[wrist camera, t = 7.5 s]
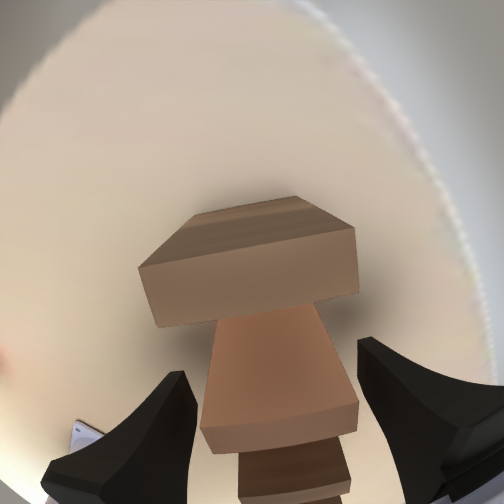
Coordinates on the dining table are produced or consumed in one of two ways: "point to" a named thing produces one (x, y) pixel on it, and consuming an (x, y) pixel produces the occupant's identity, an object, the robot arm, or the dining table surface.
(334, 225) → the end tile
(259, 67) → the dining table surface
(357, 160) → the dining table surface
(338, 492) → the tile
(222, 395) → the tile
